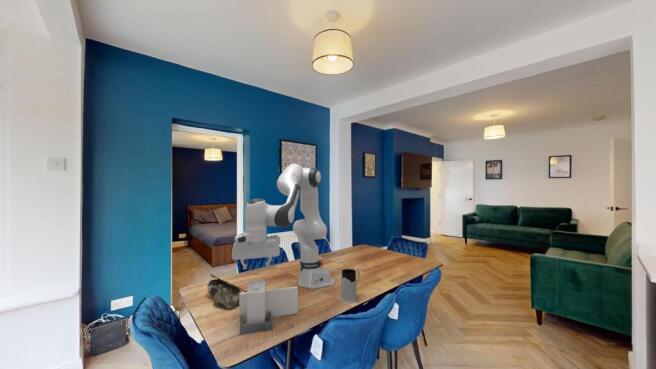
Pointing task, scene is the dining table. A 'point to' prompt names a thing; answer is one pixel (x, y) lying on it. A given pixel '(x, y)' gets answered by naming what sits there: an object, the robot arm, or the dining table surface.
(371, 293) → the dining table surface
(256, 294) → the milk carton
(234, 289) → the hollow geode rock
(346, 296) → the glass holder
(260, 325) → the cleat bracket
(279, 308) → the wall board
